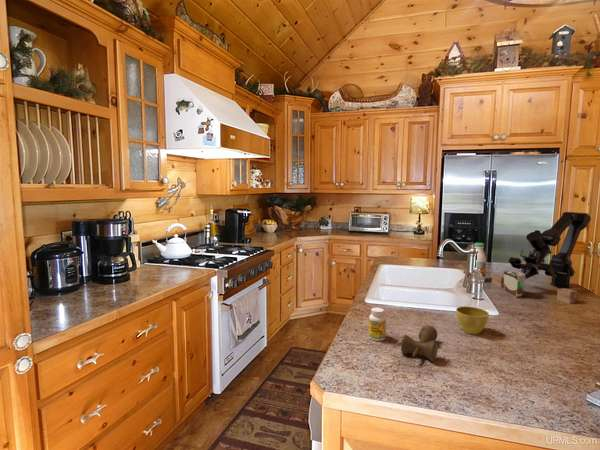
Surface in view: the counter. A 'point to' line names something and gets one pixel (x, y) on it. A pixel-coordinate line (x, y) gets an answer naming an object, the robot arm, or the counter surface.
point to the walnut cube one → (498, 280)
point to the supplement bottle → (377, 324)
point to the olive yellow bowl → (472, 319)
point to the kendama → (422, 343)
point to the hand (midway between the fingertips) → (521, 279)
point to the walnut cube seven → (566, 295)
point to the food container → (514, 283)
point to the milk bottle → (481, 258)
